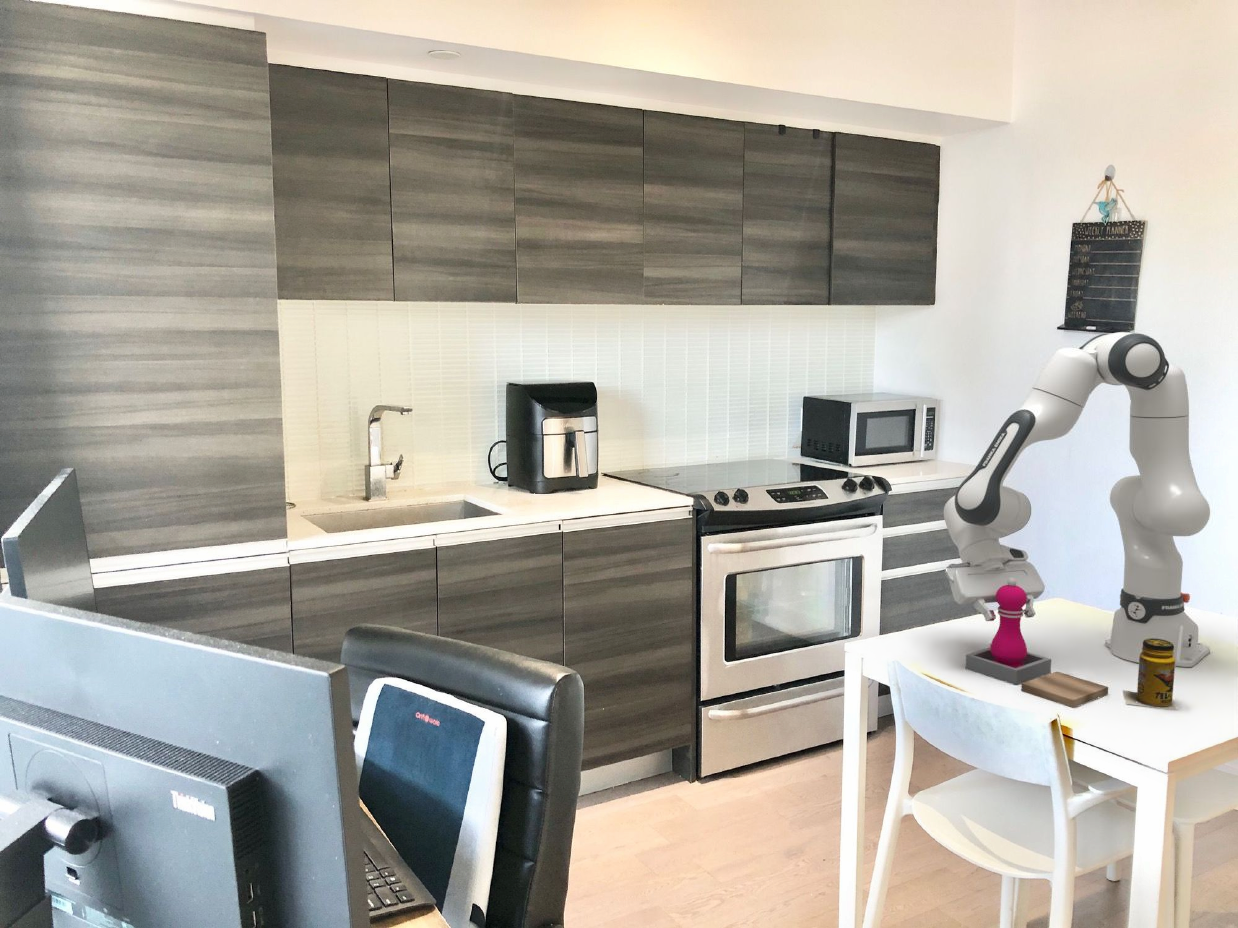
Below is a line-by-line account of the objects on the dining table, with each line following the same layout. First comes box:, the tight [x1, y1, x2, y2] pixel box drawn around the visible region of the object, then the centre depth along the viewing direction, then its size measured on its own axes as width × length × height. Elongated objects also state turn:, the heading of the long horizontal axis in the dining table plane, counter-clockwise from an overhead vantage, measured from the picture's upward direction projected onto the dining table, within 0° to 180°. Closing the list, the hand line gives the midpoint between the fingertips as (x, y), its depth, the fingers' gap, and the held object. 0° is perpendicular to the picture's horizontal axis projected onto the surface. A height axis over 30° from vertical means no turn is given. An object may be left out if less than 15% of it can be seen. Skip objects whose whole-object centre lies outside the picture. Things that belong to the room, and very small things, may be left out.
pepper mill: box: [989, 578, 1028, 668], centre depth 208 cm, size 7×7×20 cm
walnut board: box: [1020, 671, 1109, 709], centre depth 197 cm, size 12×11×2 cm
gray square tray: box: [965, 646, 1052, 686], centre depth 209 cm, size 12×12×3 cm
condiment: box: [1122, 638, 1177, 711], centre depth 191 cm, size 7×8×12 cm
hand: (1011, 618), depth 207 cm, fingers open, 8 cm apart
